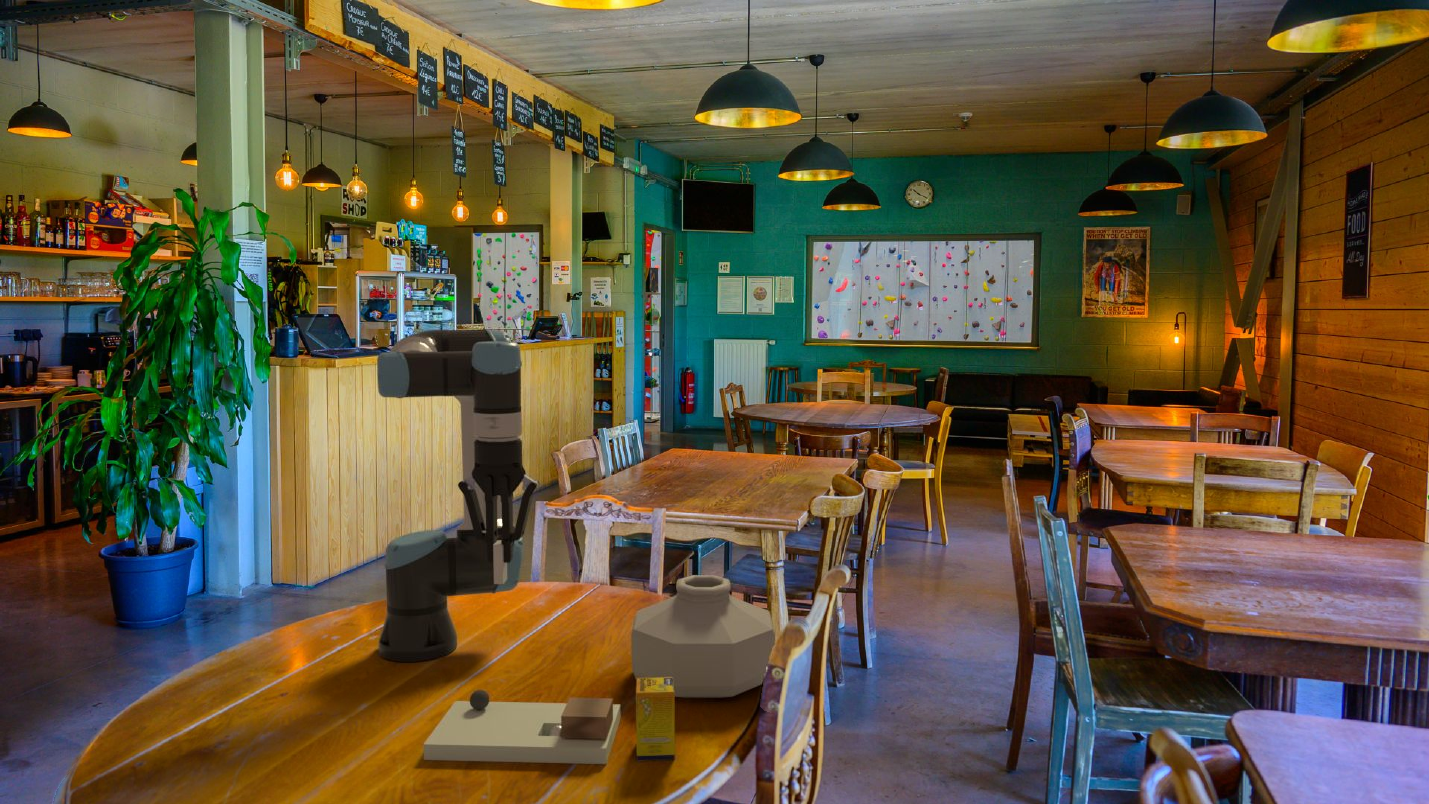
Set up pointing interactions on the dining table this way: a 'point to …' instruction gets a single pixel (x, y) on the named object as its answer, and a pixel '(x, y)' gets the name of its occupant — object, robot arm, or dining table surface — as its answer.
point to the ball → (555, 731)
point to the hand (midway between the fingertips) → (500, 581)
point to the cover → (587, 718)
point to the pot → (703, 640)
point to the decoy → (479, 699)
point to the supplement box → (655, 718)
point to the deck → (513, 735)
